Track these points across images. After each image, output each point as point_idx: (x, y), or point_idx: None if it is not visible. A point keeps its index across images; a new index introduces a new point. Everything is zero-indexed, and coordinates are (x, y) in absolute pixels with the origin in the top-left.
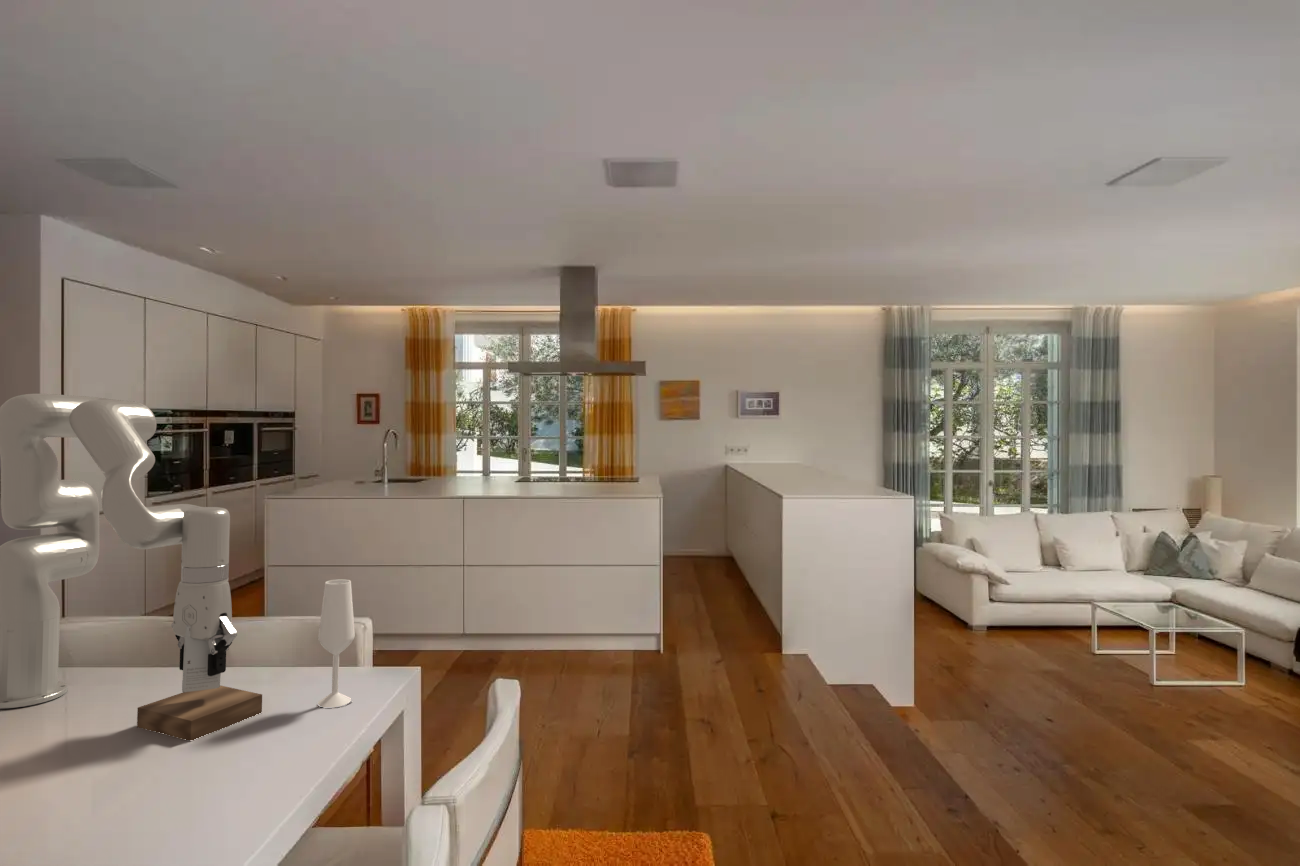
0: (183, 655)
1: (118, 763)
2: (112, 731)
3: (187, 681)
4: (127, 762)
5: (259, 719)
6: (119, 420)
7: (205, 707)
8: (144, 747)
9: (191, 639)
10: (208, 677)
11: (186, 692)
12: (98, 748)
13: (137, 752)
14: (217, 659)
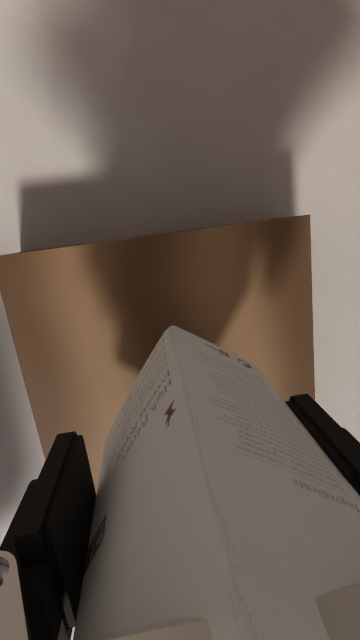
0: (325, 450)
1: (18, 13)
2: (313, 155)
3: (163, 356)
4: (2, 36)
5: (31, 450)
6: None
7: (94, 356)
8: (91, 141)
9: (188, 594)
10: (119, 436)
11: (303, 391)
12: (209, 48)
13: (66, 104)
14: (6, 537)
